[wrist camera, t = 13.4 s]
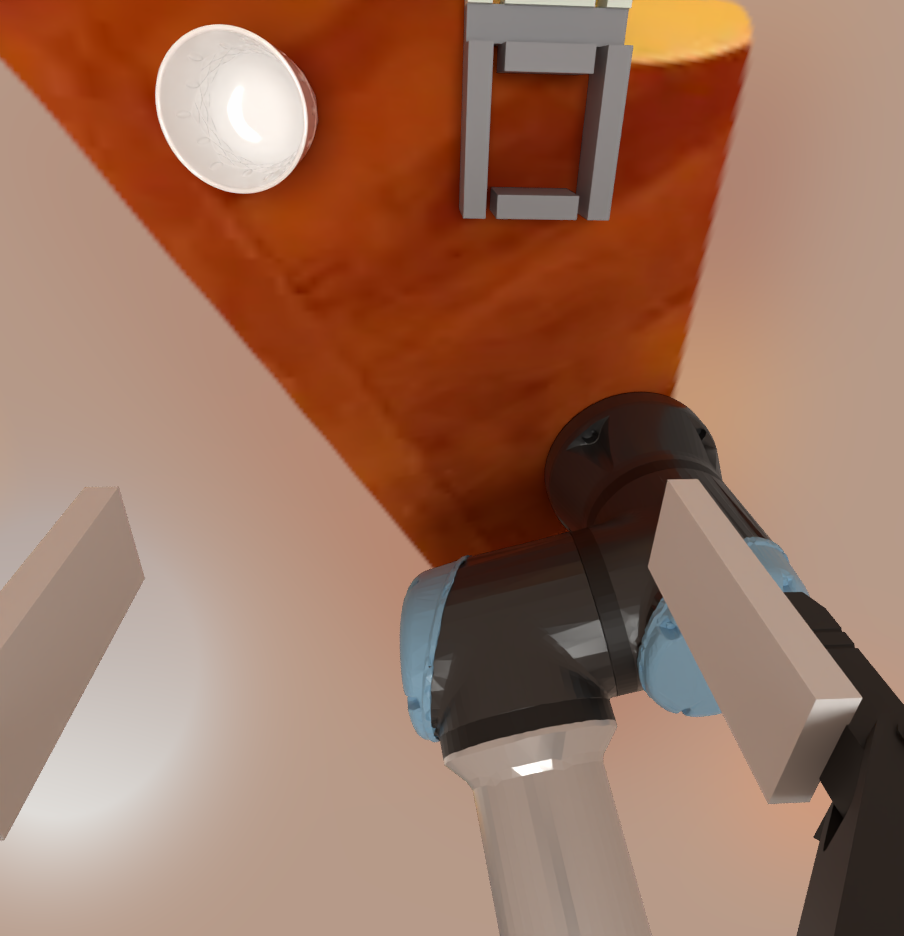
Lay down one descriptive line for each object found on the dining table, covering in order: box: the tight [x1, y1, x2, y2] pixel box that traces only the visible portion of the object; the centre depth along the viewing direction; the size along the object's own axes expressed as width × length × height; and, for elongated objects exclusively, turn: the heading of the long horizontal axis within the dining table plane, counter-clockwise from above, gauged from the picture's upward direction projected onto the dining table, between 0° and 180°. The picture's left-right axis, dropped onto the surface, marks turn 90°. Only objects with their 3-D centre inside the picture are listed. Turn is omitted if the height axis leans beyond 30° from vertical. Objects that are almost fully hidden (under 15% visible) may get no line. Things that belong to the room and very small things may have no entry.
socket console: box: [459, 0, 633, 220], centre depth 40 cm, size 22×10×4 cm, turn 179°
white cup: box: [155, 24, 318, 194], centre depth 38 cm, size 8×8×10 cm
